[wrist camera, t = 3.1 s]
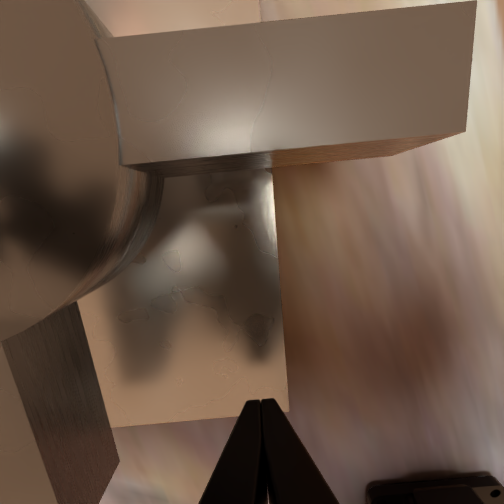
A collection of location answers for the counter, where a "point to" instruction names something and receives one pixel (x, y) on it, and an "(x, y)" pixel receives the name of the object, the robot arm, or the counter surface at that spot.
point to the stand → (192, 275)
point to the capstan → (168, 173)
